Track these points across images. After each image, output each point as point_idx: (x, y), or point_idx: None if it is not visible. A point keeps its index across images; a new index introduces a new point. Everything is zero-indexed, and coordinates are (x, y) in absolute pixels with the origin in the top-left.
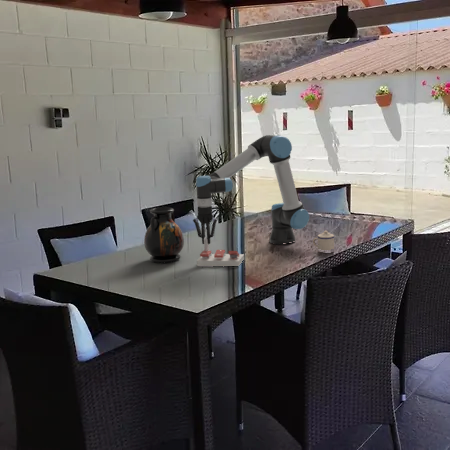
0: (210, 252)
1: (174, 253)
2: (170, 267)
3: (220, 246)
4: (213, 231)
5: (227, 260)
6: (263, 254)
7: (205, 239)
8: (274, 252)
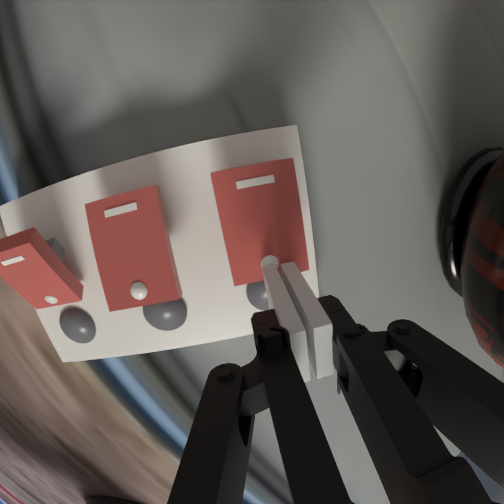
0: (227, 253)
1: (479, 189)
2: (428, 83)
3: None
4: (188, 438)
5: (61, 197)
6: (64, 420)
7: (310, 330)
8: (52, 440)
